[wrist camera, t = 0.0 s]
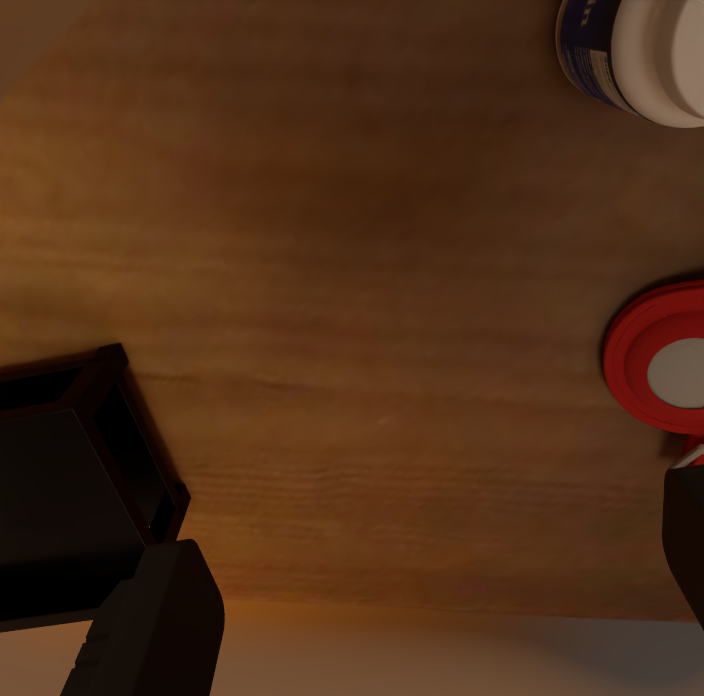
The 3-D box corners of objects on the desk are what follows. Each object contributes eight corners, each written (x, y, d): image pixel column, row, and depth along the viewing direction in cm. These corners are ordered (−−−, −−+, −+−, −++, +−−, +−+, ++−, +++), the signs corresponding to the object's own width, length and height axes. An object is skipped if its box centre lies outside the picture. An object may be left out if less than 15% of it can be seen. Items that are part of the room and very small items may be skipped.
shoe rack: (-102, 385, 33) (-226, 485, 26) (120, 342, 32) (52, 436, 25) (-4, 529, 38) (-85, 644, 31) (191, 498, 37) (151, 612, 30)
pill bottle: (647, -101, 22) (832, -173, 14) (725, 24, 24) (931, 30, 15) (521, 25, 24) (612, 32, 16) (603, 130, 26) (723, 190, 17)
